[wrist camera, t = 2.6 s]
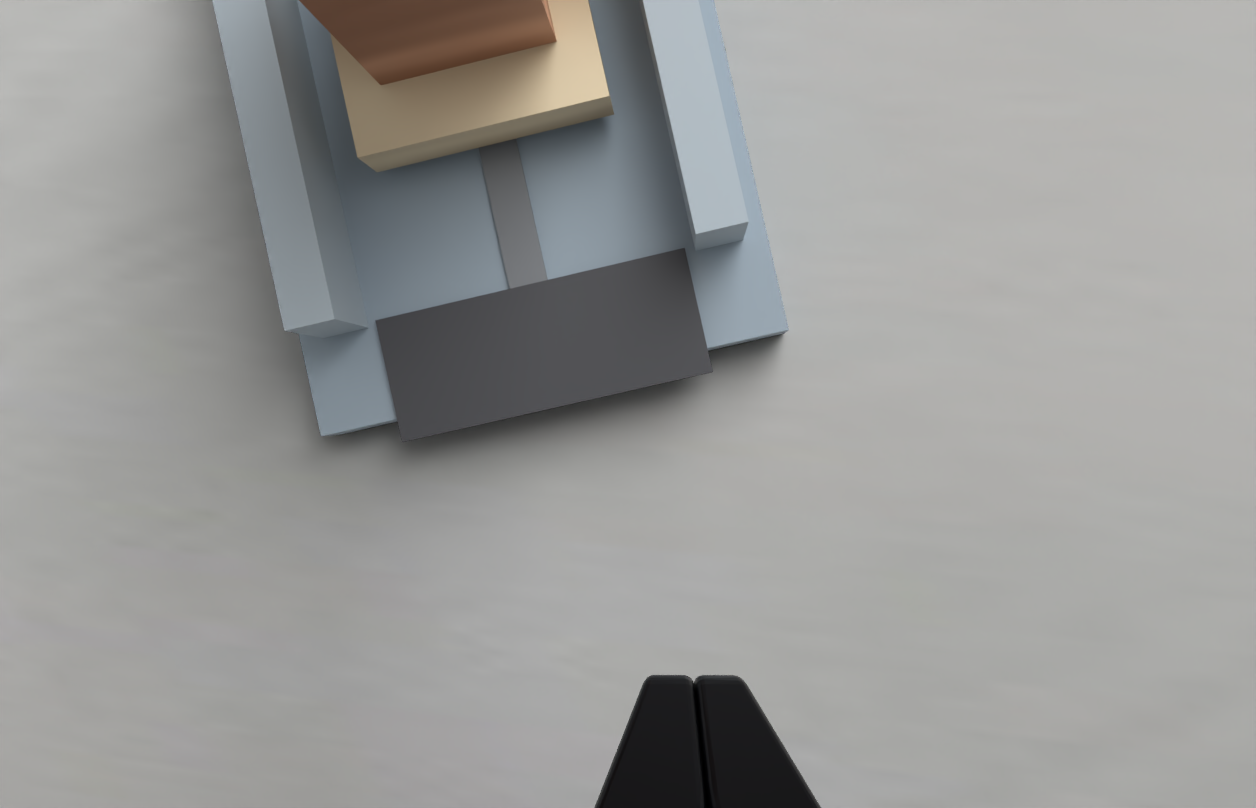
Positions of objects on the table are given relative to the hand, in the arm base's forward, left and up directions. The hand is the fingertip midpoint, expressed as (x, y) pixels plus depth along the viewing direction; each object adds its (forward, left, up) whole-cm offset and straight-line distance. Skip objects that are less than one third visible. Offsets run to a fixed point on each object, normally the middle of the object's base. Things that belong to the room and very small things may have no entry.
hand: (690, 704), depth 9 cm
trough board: (0, +13, -13) cm, 18 cm away
